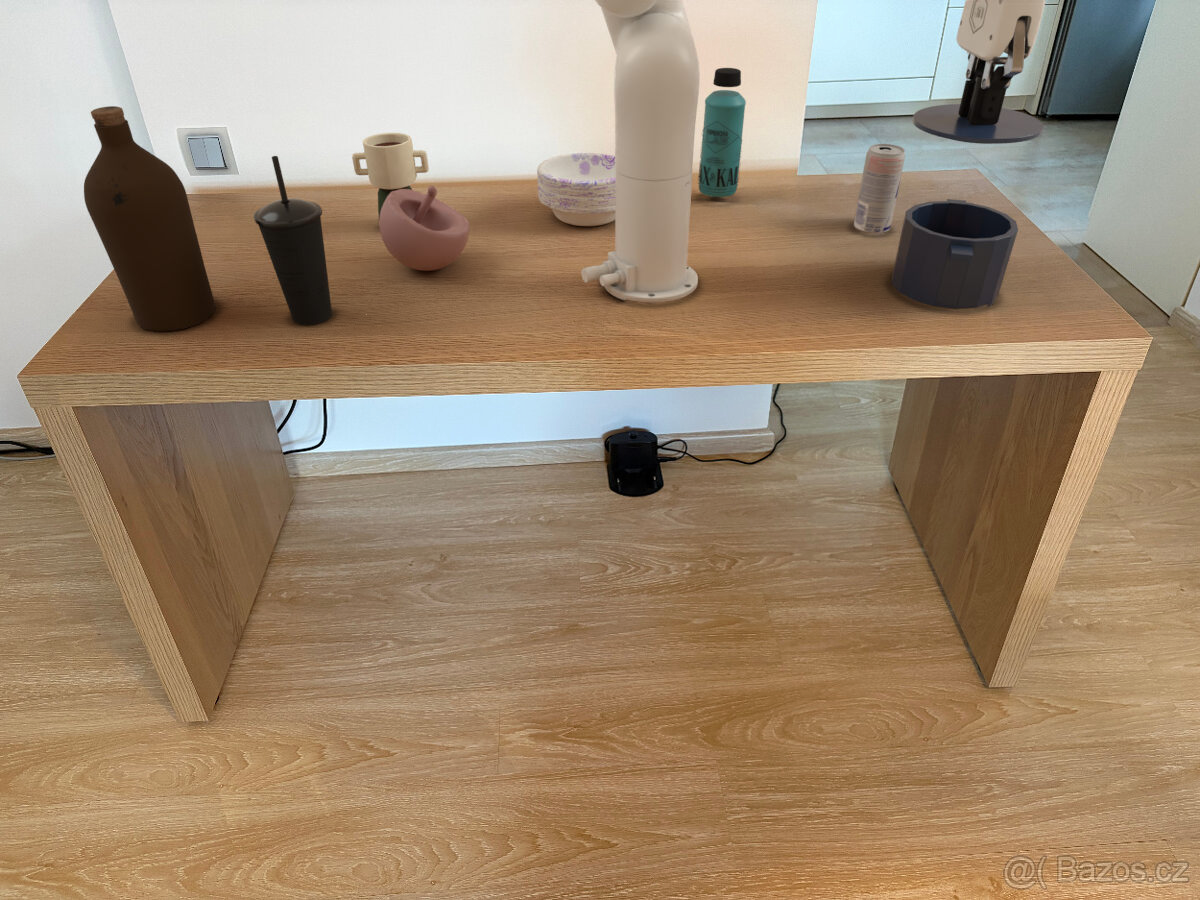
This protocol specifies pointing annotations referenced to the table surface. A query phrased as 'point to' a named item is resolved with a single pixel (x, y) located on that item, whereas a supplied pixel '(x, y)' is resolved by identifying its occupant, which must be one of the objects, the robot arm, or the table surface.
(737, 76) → the beverage bottle
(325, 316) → the drinking cup
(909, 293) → the pot
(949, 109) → the lid
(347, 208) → the table surface
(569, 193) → the paper bowls
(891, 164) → the energy drink
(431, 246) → the mortar and pestle
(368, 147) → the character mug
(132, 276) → the olive oil
